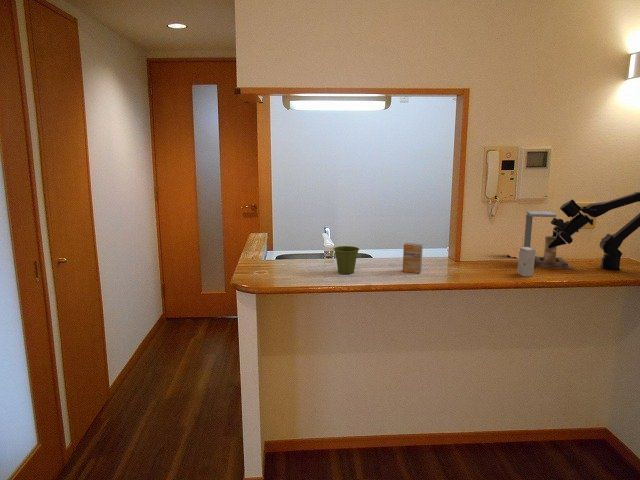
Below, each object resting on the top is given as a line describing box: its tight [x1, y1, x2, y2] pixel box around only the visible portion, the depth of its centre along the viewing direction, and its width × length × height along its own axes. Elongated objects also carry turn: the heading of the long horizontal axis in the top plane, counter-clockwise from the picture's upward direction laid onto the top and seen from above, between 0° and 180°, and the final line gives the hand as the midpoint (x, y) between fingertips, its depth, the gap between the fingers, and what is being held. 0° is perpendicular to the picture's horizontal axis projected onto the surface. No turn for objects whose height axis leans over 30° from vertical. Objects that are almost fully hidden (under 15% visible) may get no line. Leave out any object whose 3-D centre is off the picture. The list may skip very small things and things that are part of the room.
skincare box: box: [516, 246, 537, 277], centre depth 200 cm, size 6×4×12 cm
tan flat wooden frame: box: [534, 255, 575, 271], centre depth 219 cm, size 18×16×2 cm
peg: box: [543, 235, 558, 262], centre depth 218 cm, size 5×5×13 cm
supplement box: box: [402, 242, 424, 274], centre depth 207 cm, size 8×5×13 cm, turn 70°
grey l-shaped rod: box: [523, 210, 557, 248], centre depth 219 cm, size 12×12×25 cm
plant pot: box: [332, 245, 360, 275], centre depth 206 cm, size 12×12×11 cm
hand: (547, 246), depth 218 cm, fingers open, 6 cm apart
